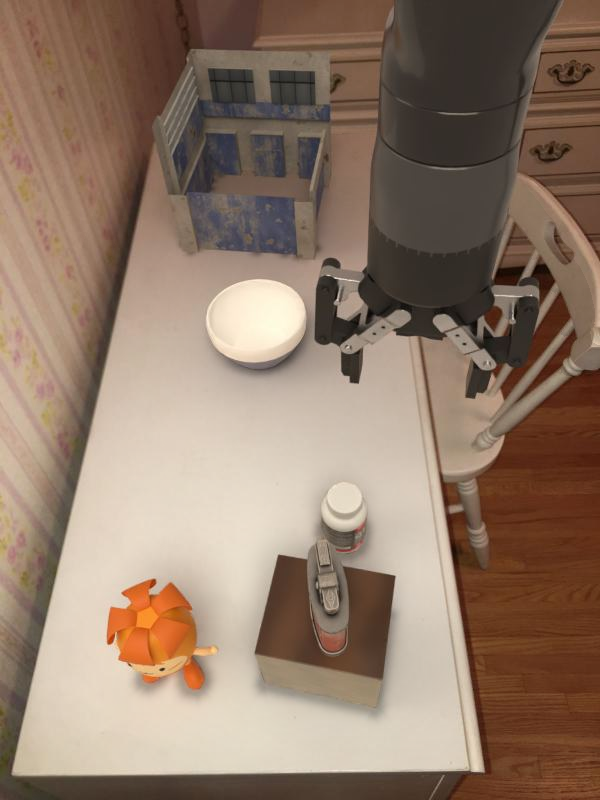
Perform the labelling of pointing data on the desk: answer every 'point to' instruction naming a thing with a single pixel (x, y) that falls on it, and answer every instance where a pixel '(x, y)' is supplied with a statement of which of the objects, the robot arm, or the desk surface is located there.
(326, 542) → the lighter
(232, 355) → the bowl
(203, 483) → the desk surface
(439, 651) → the desk surface
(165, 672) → the toy figure
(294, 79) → the building
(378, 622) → the block
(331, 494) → the pill bottle
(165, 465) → the desk surface
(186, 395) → the desk surface
